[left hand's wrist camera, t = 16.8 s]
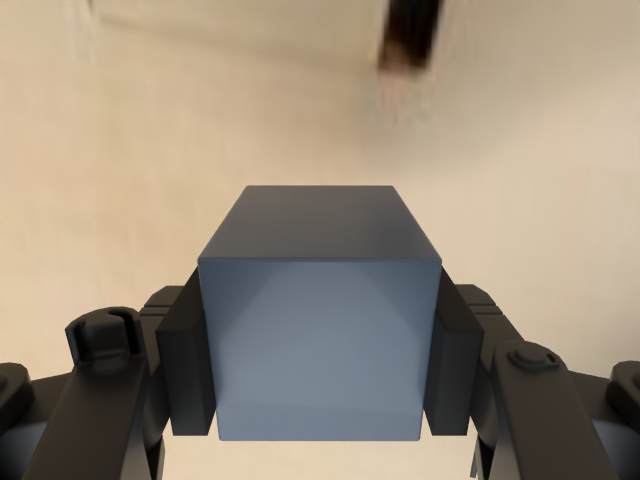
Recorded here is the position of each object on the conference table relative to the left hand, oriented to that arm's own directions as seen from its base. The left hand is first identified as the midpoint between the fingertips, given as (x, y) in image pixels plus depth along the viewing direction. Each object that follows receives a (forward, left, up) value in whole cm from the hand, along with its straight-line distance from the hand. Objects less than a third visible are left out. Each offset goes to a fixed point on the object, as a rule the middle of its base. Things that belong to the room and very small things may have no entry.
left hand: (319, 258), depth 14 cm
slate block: (0, 0, 0) cm, 0 cm away
